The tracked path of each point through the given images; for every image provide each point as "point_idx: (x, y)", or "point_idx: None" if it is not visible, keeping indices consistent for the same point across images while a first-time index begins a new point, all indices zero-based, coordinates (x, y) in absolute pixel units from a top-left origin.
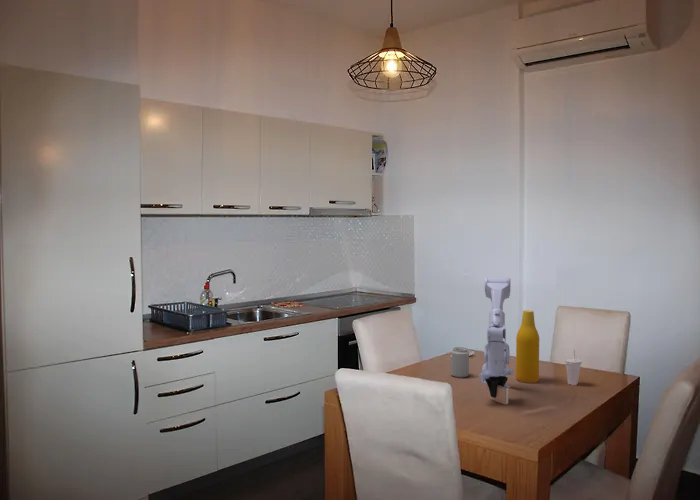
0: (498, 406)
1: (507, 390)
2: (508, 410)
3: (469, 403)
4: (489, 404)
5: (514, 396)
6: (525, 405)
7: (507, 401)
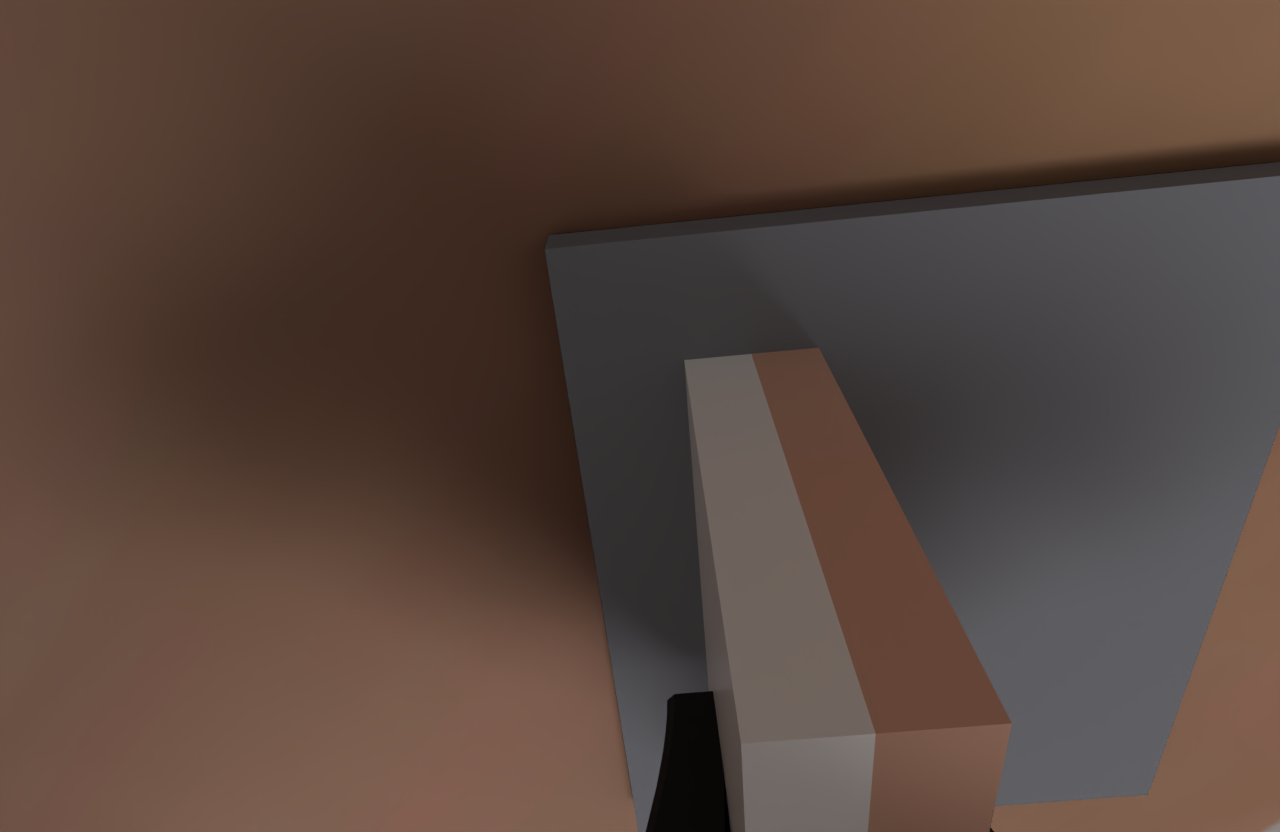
0: None
1: (785, 664)
2: (882, 99)
3: (1189, 742)
4: None
5: (152, 757)
6: (173, 255)
7: (716, 407)
